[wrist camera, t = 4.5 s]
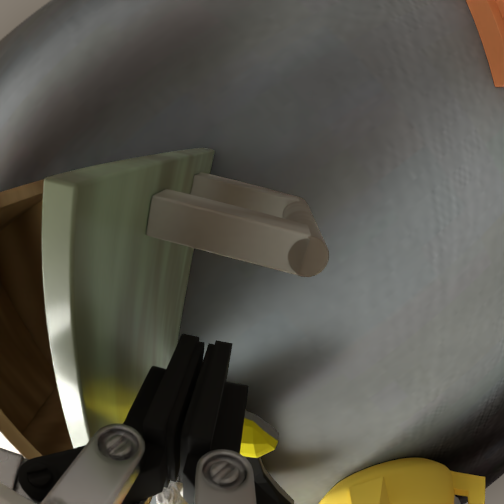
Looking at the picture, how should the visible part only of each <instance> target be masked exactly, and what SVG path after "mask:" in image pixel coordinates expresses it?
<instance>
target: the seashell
mask: <svg viewBox="0 0 504 504" xmlns="http://www.w3.org/2000/svg"><path fill="white" fill-rule="evenodd" d="M182 488H183V483H181V482H176V483H175V482H174V483H170V484H169V486H168V488H166V487H164V488H163V491H162V492H161V493H159V494H156V500H157V504H188V503H187V502H186V501H185V499H184V498H183V497H182V496H181V494H180V492H181V490H182Z"/></svg>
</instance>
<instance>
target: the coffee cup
mask: <svg viewBox="0 0 504 504" xmlns="http://www.w3.org/2000/svg"><path fill="white" fill-rule="evenodd" d="M454 504H461V503H460V501H459V499H458V498H457V497H456V496H454Z"/></svg>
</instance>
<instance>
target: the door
mask: <svg viewBox="0 0 504 504" xmlns="http://www.w3.org/2000/svg"><path fill="white" fill-rule="evenodd" d="M214 153H215V151H214V150H212V149H207V148H194V149H186V150H179V151H172V152H166V153H159V154H153V155H147V156H141V157H136V158H130V159H125V160H120V161H114V162H109V163H104V164H100V165H95V166H90V167H86V168H81V169H77V170H73V171H69V172H64V173H60V174H56V175H52V176H49V177H46V178H45V179H44V184H43V200H42V276H43V291H44V303H45V314H46V322H47V330H48V338H49V345H50V351H51V357H52V363H53V368H54V374H55V379H56V384H57V388H58V393H59V397H60V401H61V406H62V410H63V414H64V417H65V421H66V425H67V428H68V432H69V435H70V439H71V442H72V445H73V448H77V447H80V446H84V445H86V444H87V443H88V442H89V440H90V439H91V438H92V437H93V435H94V434H95V433H96V432H97V431H98V430H99V429H100V428H101V427H104V426H106V425H109V424H115V423H116V424H123V423H124V421H125V419H126V417H127V415H128V412H129V410H130V408H131V406H132V404H133V402H134V400H135V398H136V396H137V394H138V392H139V390H140V388H141V386H142V384H143V382H144V380H145V378H146V376H147V374H148V372H149V370H150V369H151V367H152V366H156V367H160V368H164V369H167V366H168V364H169V362H170V360H171V358H172V355H173V353H174V351H175V349H176V346H177V344H178V337H179V331H180V325H181V318H182V312H183V306H184V301H185V295H186V289H187V283H188V278H189V272H190V267H191V262H192V256H193V251H194V248H196V249H199V250H203V251H207V252H211V253H214V254H218V255H222V256H226V257H230V258H234V259H237V260H241V261H245V262H249V263H253V264H257V265H260V266H264V267H268V268H272V269H276V270H280V271H284V272H287V273H291V274H295V275H299V276H302V277H311V276H315V275H317V274H319V273H320V272H321V271H322V270H323V269H324V268H325V267H326V265H327V263H328V260H329V251H328V248H327V246H326V243H325V241H324V239H323V237H322V234H321V232H320V230H319V228H318V226H317V223H316V221H315V219H314V217H313V215H312V212H311V210H310V208H309V206H308V204H307V202H306V201H305V200H304V199H303V198H300V197H297V196H294V195H290V194H286V193H283V192H279V191H275V190H271V189H268V188H264V187H260V186H256V185H252V184H248V183H244V182H240V181H236V180H232V179H228V178H224V177H220V176H216V175H212V174H210V170H211V166H212V162H213V157H214Z"/></svg>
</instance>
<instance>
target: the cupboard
mask: <svg viewBox="0 0 504 504" xmlns="http://www.w3.org/2000/svg"><path fill="white" fill-rule="evenodd" d="M43 184H44V179H43V180H40V181H36V182H32V183H29V184H25V185H22V186H19V187H15V188H12V189H9V190H6V191H2V192H0V448H3V449H6V450H9V451H12V452H15V453H18V454H21V455H23V457H24V458H26V459H32V458H35V457H40V456H44V455H49V454H53V453H57V452H61V451H65V450H69V449H73V445H72V442H71V439H70V435H69V432H68V428H67V425H66V421H65V417H64V414H63V410H62V406H61V401H60V397H59V393H58V388H57V384H56V379H55V374H54V368H53V363H52V357H51V351H50V345H49V338H48V330H47V322H46V314H45V303H44V291H43V276H42V200H43Z"/></svg>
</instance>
